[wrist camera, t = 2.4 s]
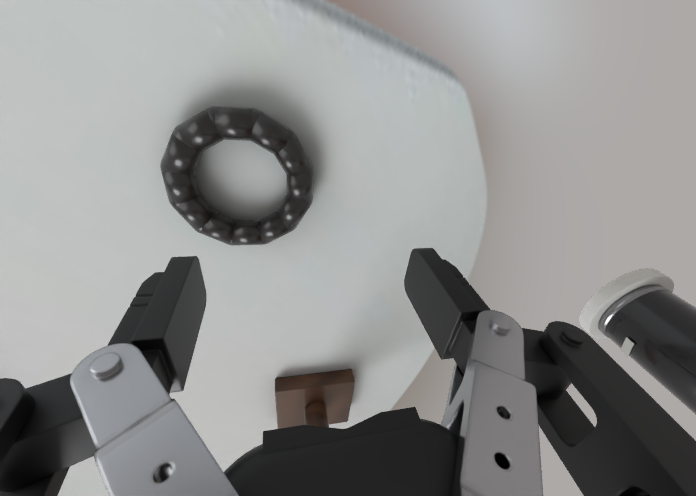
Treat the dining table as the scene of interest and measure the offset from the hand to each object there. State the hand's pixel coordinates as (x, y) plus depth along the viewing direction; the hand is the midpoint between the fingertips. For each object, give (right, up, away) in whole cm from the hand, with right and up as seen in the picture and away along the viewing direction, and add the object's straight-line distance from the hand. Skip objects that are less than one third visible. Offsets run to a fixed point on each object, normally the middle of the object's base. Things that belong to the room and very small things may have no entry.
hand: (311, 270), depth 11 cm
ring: (-5, +5, +6) cm, 9 cm away
